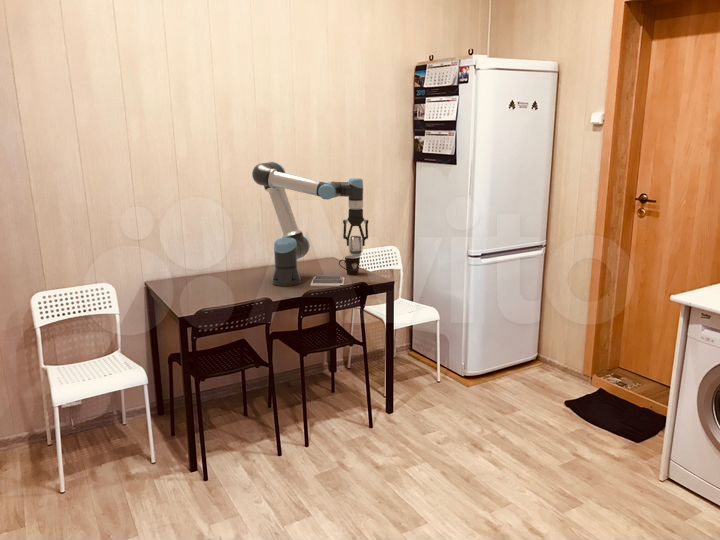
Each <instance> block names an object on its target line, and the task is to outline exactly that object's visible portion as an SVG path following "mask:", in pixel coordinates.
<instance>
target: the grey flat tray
mask: <svg viewBox="0 0 720 540" xmlns="http://www.w3.org/2000/svg"><path fill="white" fill-rule="evenodd" d="M310 282H311V283H310V287H341V286H340V285H343V286H344V283H345V277H343V275H314V276H313V278H312V280H311V281H310Z"/></svg>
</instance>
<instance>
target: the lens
mask: <svg viewBox="0 0 720 540" xmlns="http://www.w3.org/2000/svg"><path fill="white" fill-rule="evenodd" d="M361 239H362V236H361V235H350V252H349V254H350V255H351V256H360V257H361V256H362V252H361Z"/></svg>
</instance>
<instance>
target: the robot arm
mask: <svg viewBox="0 0 720 540" xmlns="http://www.w3.org/2000/svg"><path fill="white" fill-rule="evenodd" d="M251 175H252V176H251V177H252V179H253V181H254V182H255V183H256V184H257V185H259V186H262V187H263V188H264V190H265V192H268V194H269V196H270V199H271V202H272V205H273V208H274V211H275V214H276V217H277V219H278V223H279V227H280V229H281V232H282V234H283V235H282V236H281V238H278V239H276V240H275V241H274V245H273V250H274V253H273V254H274V272H273V275H272V278H271V281H272V282H271V283H272V285H274V286H278V287H291V286H297V285H299V284H301V282H302V280H301V279H302V278H301V275H300V273H299V270H298V259H301V258H303V257H305V255H307V254H308V252H309V251H310V241H309V240H308V238H307V237H305V235H304V234H303V231H302V230H301V229H299V228H298V224H297V221H296V219H295V217H294V213H293V210H292V207H291V205H290V202H289V198H288V195H287V193H286V190H289V191H294V192H299V193H303V194H307V195H312V196H316V197H318V198H319V197H320V198H321V199H322V200H331V199H335V198H337V197H348V217H347V218H346V219H343V220H342V223H343V234H342V235H343V236H342V238H343V240H346V247H348V253H350V250H351V233H352V230H353V227H358V229H359V233H360V236H361V253H364V250H363V248H364V246H366V243H365V241H366V240H368V239H369V229H368V228H369V225H368V224H369V219H365V218H364V209H363V207H364V180H363V179H362V178H358V177H356V178H354V177H353V178H349V179H348V181H328V182H323V181H320V180H319V181H318V180H316V179H311V178H307V177H302V176H299V175H293V174H289V173H286V171H285V168H284V167H283V165H281V164H280V163H279V162H273V161H270V162H261V163H257V164H256V165H255V166H254V168H253V169H252V174H251ZM285 189H286V190H285ZM348 222H349V224H350V225H349V229H348V232H347V224H348ZM363 223H364V225H365V227H364V230H365V233H364V231H363V227H362V224H363Z"/></svg>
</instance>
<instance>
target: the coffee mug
mask: <svg viewBox="0 0 720 540" xmlns="http://www.w3.org/2000/svg"><path fill="white" fill-rule="evenodd" d="M360 260H361V256H351V254H349V255H345V256H344V259H339V262H338V265H339V266H340V268H343V269H344V270H345V271H346V275H348V276H357V275H359V269H360ZM342 261H343V262H344V263H345V267H344V266H343V265H341V262H342Z"/></svg>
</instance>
